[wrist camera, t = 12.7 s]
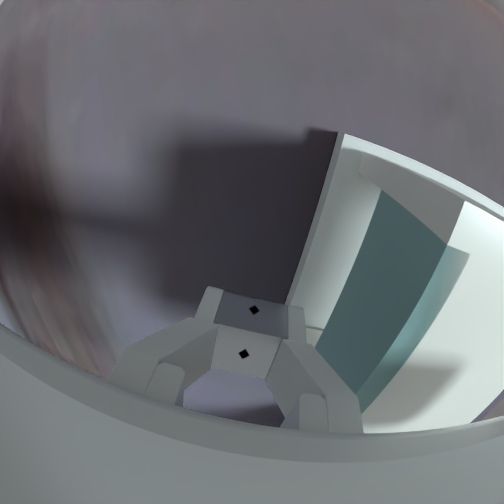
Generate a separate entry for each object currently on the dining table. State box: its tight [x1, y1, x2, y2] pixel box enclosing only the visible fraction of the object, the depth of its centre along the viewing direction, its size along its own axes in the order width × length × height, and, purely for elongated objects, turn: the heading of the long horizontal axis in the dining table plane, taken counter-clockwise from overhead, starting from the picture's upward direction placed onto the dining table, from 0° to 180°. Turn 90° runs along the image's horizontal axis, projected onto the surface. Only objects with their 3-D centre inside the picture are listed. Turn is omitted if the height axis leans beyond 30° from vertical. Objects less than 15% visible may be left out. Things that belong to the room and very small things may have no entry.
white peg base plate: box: [285, 132, 504, 331], centre depth 14 cm, size 18×12×4 cm, turn 78°
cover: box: [305, 152, 504, 433], centre depth 10 cm, size 8×11×8 cm
